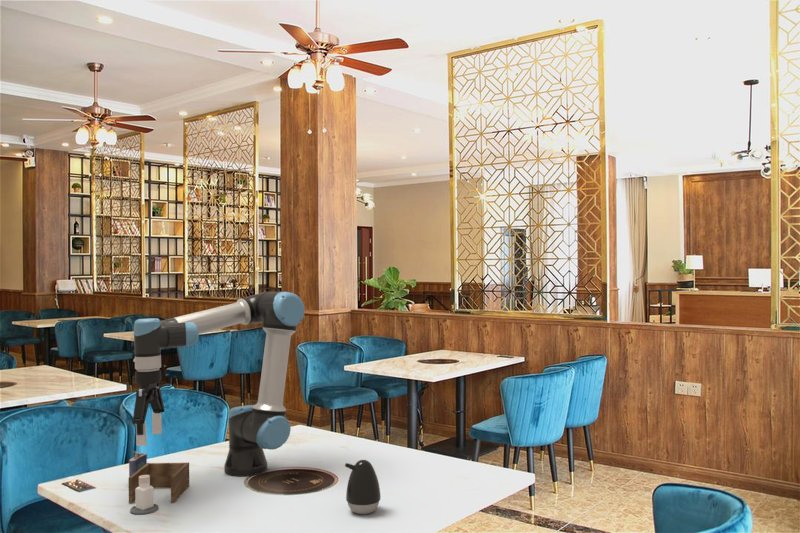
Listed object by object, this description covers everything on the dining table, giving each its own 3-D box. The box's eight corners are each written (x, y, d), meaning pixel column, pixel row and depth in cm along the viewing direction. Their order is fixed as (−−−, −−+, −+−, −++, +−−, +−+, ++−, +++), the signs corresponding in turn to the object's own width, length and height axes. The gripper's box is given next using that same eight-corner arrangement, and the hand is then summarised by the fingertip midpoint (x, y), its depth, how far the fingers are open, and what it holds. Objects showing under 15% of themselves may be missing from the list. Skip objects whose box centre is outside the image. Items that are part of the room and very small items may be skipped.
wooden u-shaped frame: (189, 486, 227) (189, 462, 227) (174, 502, 211) (173, 477, 211) (147, 487, 227) (147, 463, 227) (128, 503, 211) (128, 477, 211)
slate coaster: (162, 505, 209) (162, 503, 209) (153, 514, 201) (153, 512, 201) (136, 505, 209) (136, 503, 209) (125, 514, 201) (125, 512, 201)
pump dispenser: (345, 506, 207) (344, 455, 207) (379, 504, 207) (379, 454, 208) (345, 518, 196) (345, 465, 196) (381, 516, 197) (381, 464, 197)
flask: (134, 487, 227) (134, 455, 227) (126, 487, 228) (125, 454, 228) (148, 479, 236) (148, 448, 236) (140, 478, 237) (140, 447, 237)
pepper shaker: (143, 511, 202) (143, 479, 202) (134, 508, 204) (134, 477, 205) (154, 507, 206) (154, 475, 206) (145, 504, 208) (145, 473, 208)
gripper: (149, 363, 219) (151, 429, 219) (119, 376, 194) (121, 450, 194) (173, 363, 219) (174, 429, 220) (145, 376, 195) (147, 450, 195)
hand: (149, 439), depth 207 cm, fingers open, 13 cm apart
